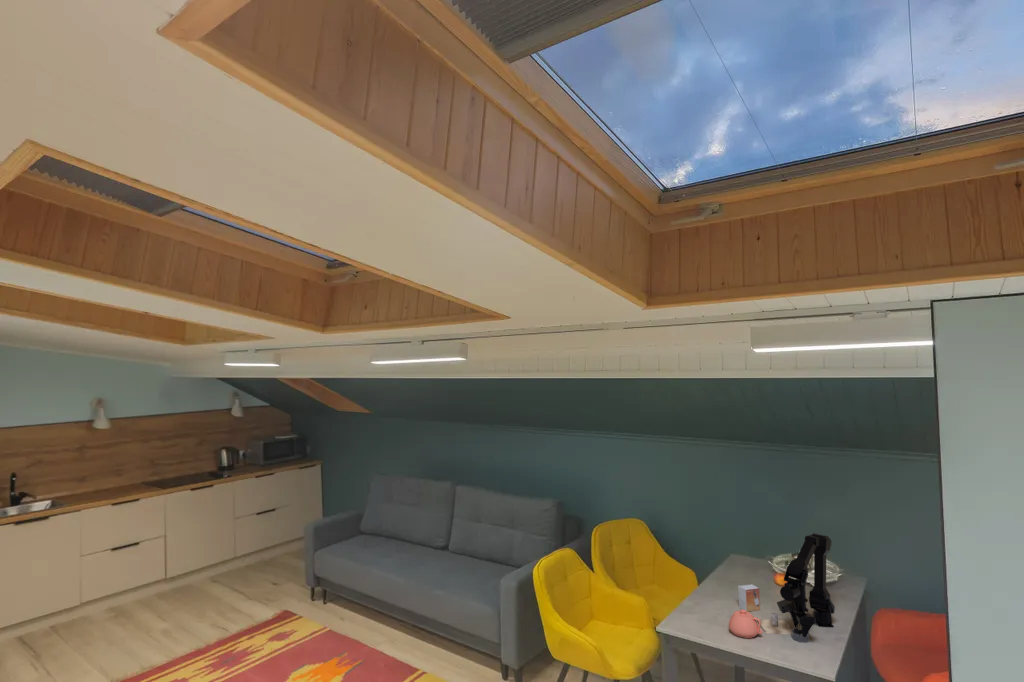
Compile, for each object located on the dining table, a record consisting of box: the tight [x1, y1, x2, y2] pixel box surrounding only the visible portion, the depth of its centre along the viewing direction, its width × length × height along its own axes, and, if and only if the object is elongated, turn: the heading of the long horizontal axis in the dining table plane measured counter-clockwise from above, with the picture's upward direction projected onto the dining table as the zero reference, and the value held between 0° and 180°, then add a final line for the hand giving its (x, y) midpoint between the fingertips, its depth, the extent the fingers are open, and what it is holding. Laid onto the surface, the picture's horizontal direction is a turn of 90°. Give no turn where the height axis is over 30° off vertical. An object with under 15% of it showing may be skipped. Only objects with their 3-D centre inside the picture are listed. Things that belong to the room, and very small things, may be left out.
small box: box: [737, 583, 761, 612], centre depth 269 cm, size 8×6×10 cm
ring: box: [790, 627, 810, 644], centre depth 237 cm, size 6×6×3 cm
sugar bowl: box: [728, 608, 764, 640], centre depth 242 cm, size 12×14×10 cm
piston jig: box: [756, 612, 793, 635], centre depth 248 cm, size 12×12×6 cm
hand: (800, 631), depth 237 cm, fingers open, 9 cm apart
